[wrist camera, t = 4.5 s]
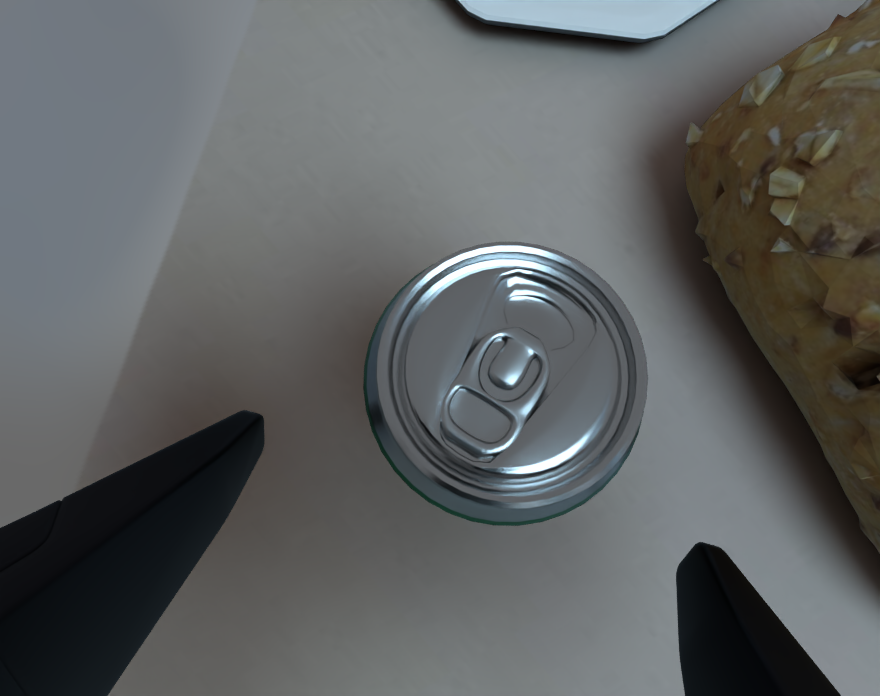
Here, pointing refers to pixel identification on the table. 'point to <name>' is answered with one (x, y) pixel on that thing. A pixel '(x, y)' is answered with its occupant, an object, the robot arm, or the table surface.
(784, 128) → the bread
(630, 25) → the plate
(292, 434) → the table surface
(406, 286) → the soda can
